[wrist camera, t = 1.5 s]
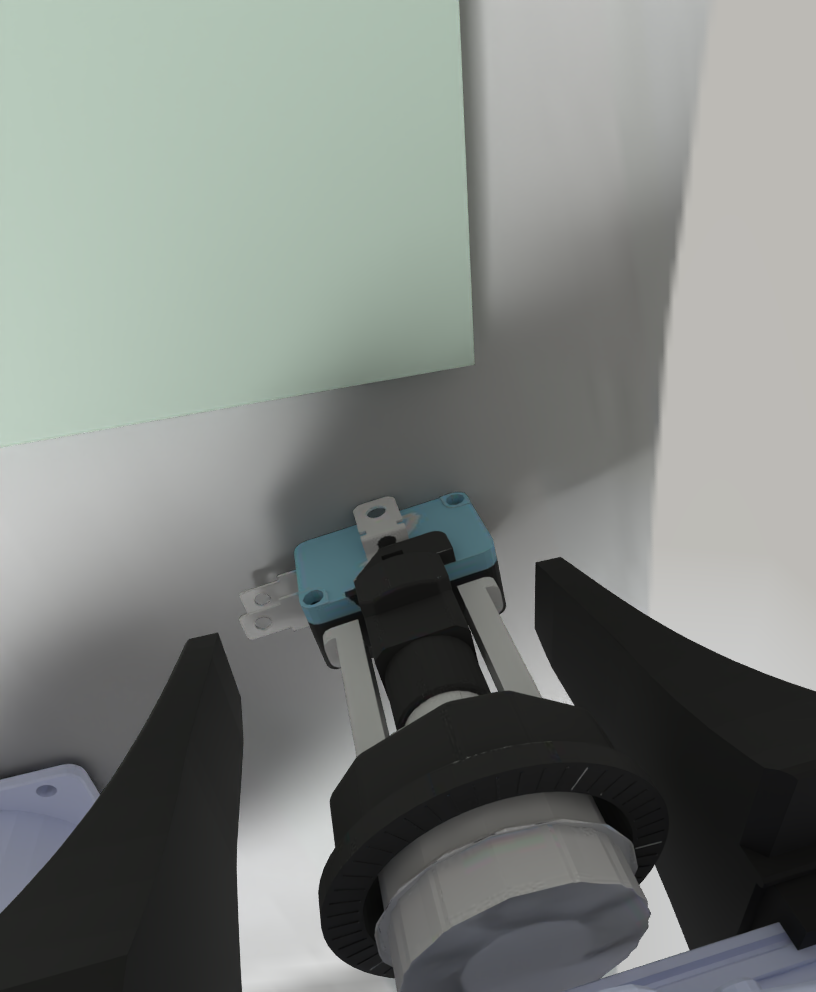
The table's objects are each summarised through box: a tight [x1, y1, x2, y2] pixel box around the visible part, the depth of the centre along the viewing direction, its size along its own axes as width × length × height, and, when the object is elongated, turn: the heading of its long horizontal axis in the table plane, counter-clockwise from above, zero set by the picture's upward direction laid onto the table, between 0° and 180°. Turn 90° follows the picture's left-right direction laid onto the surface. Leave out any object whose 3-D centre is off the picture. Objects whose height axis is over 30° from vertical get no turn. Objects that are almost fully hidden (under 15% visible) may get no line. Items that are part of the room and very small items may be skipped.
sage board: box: [0, 0, 475, 448], centre depth 10 cm, size 12×12×1 cm
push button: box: [239, 492, 669, 992], centre depth 13 cm, size 7×5×10 cm
